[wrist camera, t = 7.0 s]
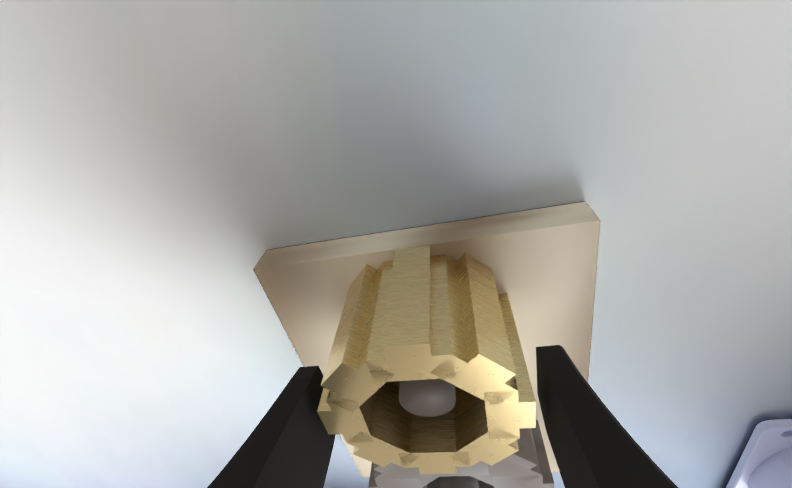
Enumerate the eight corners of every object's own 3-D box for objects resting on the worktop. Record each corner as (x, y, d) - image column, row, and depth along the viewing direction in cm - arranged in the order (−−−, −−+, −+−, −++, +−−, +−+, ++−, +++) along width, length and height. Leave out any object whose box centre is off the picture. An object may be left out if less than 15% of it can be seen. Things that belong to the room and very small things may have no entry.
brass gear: (504, 235, 11) (536, 335, 8) (510, 360, 14) (535, 473, 11) (328, 257, 12) (287, 354, 9) (368, 369, 15) (349, 475, 12)
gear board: (585, 201, 12) (660, 296, 8) (573, 446, 19) (608, 557, 15) (266, 250, 14) (202, 344, 10) (365, 454, 21) (351, 553, 17)
